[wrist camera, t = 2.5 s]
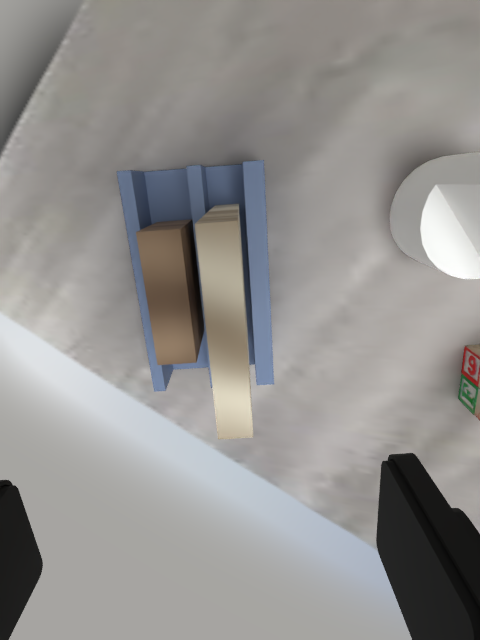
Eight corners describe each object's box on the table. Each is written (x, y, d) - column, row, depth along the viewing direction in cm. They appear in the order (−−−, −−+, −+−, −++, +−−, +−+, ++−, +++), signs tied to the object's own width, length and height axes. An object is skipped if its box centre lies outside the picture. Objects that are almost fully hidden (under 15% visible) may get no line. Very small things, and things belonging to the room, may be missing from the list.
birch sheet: (214, 205, 31) (194, 223, 17) (238, 203, 31) (238, 220, 17) (226, 337, 36) (218, 439, 21) (247, 336, 35) (253, 437, 21)
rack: (135, 172, 31) (116, 171, 27) (260, 163, 31) (263, 160, 27) (164, 365, 38) (154, 391, 33) (269, 358, 37) (273, 384, 33)
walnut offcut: (157, 222, 32) (135, 232, 25) (192, 219, 32) (180, 228, 25) (172, 331, 35) (157, 365, 29) (204, 329, 35) (196, 362, 29)
